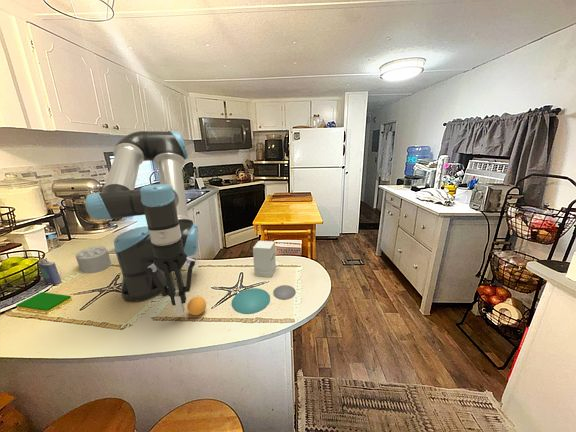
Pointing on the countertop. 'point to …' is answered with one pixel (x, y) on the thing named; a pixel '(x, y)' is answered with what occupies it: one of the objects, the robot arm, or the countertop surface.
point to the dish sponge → (44, 302)
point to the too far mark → (284, 292)
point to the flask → (49, 271)
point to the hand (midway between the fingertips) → (181, 312)
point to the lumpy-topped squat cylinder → (93, 259)
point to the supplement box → (264, 258)
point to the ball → (196, 305)
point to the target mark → (250, 301)
